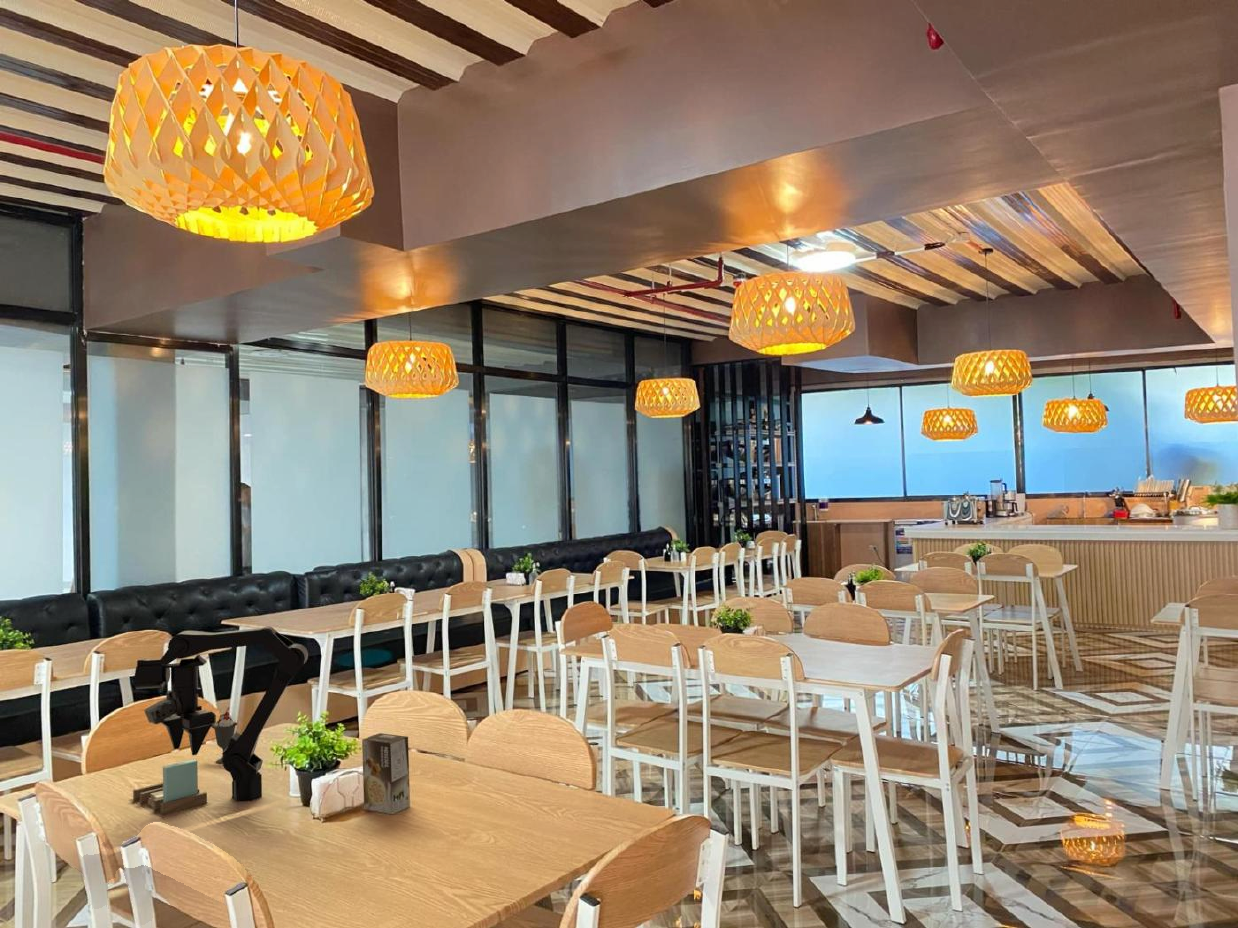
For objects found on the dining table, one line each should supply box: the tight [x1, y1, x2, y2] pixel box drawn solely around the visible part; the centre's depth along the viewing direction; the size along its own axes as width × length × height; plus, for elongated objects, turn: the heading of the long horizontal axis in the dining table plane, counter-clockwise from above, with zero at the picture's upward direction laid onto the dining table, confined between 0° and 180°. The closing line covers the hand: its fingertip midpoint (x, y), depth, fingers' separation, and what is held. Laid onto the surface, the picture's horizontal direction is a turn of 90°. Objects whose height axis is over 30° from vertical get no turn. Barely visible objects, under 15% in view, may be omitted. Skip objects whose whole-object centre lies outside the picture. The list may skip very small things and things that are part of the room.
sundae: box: [211, 706, 238, 764], centre depth 248 cm, size 7×7×15 cm
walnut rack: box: [129, 782, 212, 819], centre depth 211 cm, size 20×11×4 cm, turn 49°
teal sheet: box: [162, 759, 199, 803], centre depth 208 cm, size 2×7×10 cm, turn 139°
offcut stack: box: [148, 791, 163, 807], centre depth 212 cm, size 5×8×2 cm, turn 139°
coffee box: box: [361, 732, 411, 815], centre depth 206 cm, size 9×6×16 cm
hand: (185, 751), depth 211 cm, fingers open, 9 cm apart
